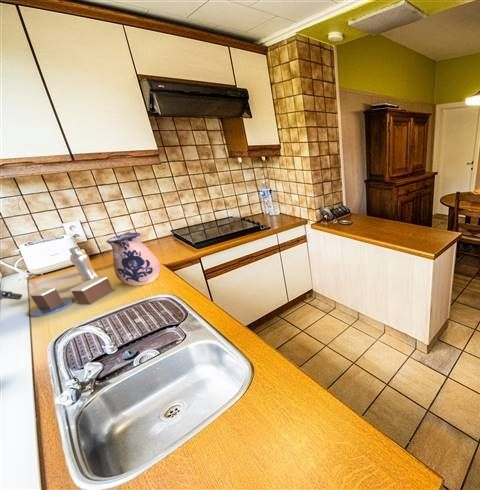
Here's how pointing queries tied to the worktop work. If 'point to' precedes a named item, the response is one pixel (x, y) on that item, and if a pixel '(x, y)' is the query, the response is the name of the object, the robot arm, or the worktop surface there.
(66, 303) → the plate
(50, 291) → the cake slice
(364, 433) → the worktop surface
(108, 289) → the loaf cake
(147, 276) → the ceramic pitcher
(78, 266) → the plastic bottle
